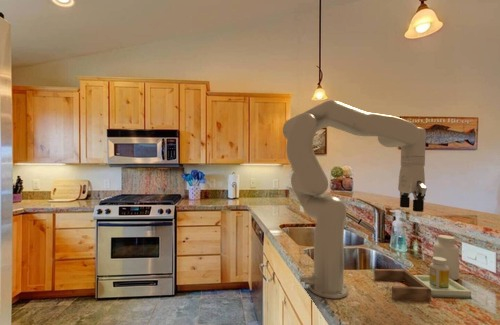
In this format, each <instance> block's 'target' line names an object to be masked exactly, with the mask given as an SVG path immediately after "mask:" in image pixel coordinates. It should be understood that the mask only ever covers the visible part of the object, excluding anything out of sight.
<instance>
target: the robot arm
mask: <svg viewBox="0 0 500 325" xmlns="http://www.w3.org/2000/svg"><path fill="white" fill-rule="evenodd" d="M328 127H330V128H334V129H337V130H340V131H343V132H345V133H347V134H351V135H354V136H359V137H377V140H378V143H379V144H380V145H381V146H384V147H385V148H397V147H399V148H400V171H399V176H398V187H397V189H398V191H399V207H400V208H406V209H408V208H410V205H411V204H410V203H411V202H410V200H411V199H410V198H411V197H410V194H412V195H413V198H414V199H412V212H416V213H417V212H419V213H423V212H424V207H425V206H424V205H425V204H424V202H425V197H426V194H427V193H426V192H427V186H426V185H425V184H426V181H425V180H426V178H425V167H426V138H427V137H426V136H427V132H426V129H425V128H424V127H419V126H417V125H416V124H414V123H413V122H411V121H409V120H407V119H404V118H400V117H397V116H393V115H388V114H381V113H376V112H375V113H374V112H368V111H364V110H362V109H359V108H357V107H353V106H351V105H348V104H345V103H343V102H341V101H337V100H332V99H330V100H327V101H324V102H322V103H320V104H317V105H316V106H313V107H312V108H310V109H308V110H306V111H304V112H303V113H299V114H297V115H295V116H293V117H291V118H289V119H288V120H286V121H285V123H284V124H283V126H282V135H283V136H284V138H285V139H286V156H287V159H288V162H289V163H290V166H291V168H292V170H293V172H292V173H291V177H290V183H291V187H292V190H293V192H294V194H295V196H296V197H297V200H298V201H299V203H300V205H301V207H302V208H303V210H304V211H305V213H306V215H308V216H309V217H310V218H312V219H314V220H316V223H315V228H314V233H313V234H314V235H313V272H311V275H310V274H309V275H307V276H305V275H300V276H299V280H300V281H299V282H300V283H304V285H308V288H309V291H310V292H312V293H313V294H315V295H317V296H319V297H321V298H326V299H332V300H333V299H334V300H335V299H342V298H345V297H346V296H347V297H348V295H349V287H348V286H347V285H346V284H345V283H344V282H345V281H344V269H345V268H344V266H345V265H344V262H345V261H344V257H345V256H344V250H345V249H344V247H345V246H344V245H345V244H344V233H345V224H346V221H347V220H346V218H347V207H346V204H345V203H344V201H342V200H341V199H340V198H339V197H336V196H335V195H331V194H327V193H326V192H327V190H328V188H329V181H328V177H327V175H326V173H325V170H324V169H323V168H322V166H321V164H320V162H319V160H318V158H317V157H316V154H315V151H314V147H313V144H314V143H313V142H314V138H315V136H316V134H317V132H318V131H320V130H322V129H324V128H328ZM325 193H326V194H325Z"/></svg>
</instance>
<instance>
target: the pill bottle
mask: <svg viewBox="0 0 500 325" xmlns="http://www.w3.org/2000/svg"><path fill="white" fill-rule="evenodd" d="M432 247H433V249H432V250H433V256H432V258H433V257H442V258H445V259H446V260H447V264H446V265H447V266H448V268H449V278H450V279H452V280H453V281H456V280H457V281H458V280H459V279H460V249H459V246H458V245H457V244H456V238H455V237H454V236H452V235H451V236H450V235H445V234H439V235H437V241H436V242H434V244H433V246H432Z"/></svg>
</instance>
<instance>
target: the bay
mask: <svg viewBox="0 0 500 325" xmlns="http://www.w3.org/2000/svg"><path fill="white" fill-rule="evenodd" d="M373 271H374V274H373V275H374V278H373V279H374V280H375V281H392V282H393V281H397V282H400V281H401V282H402V281H403V282H404V283H405V284H407V285H408V286H396V285H394V286H393V285H392V286H391V298H392V299H393V300H411V301H431V300H432V296H431V289H430V288H429V287H427V286H426V285H425V284H423V283H422V282H421V281H420V280H418V279H417V278H416V277H414V276H413V275H414V274H411V273H410V272H409V271H408V270H406V269H387V268H386V269H385V268H380V269H379V268H374V270H373Z"/></svg>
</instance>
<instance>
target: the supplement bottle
mask: <svg viewBox="0 0 500 325" xmlns="http://www.w3.org/2000/svg"><path fill="white" fill-rule="evenodd" d="M431 261H432V262H431V263H429V276H430V285H431V286H432V287H433V288H436V289H448V288H449V268H448V266H447V265H446V264H447V260H446V259H445V258H442V257H433V256H432V258H431Z"/></svg>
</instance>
